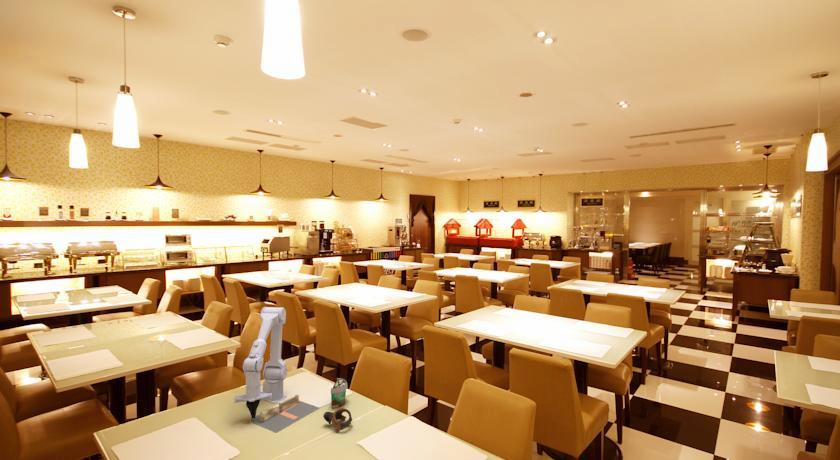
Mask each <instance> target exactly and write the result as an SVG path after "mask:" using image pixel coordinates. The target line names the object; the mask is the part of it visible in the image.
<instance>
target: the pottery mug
mask: <svg viewBox="0 0 840 460" xmlns="http://www.w3.org/2000/svg"><path fill="white" fill-rule="evenodd" d="M343 413H347V414H348V419H347V420H346V418H347V416H345V415H343ZM323 419H324V421H326V422H327V423H328V424H329V425H331V424H333V425H334V426H335V429H334V431H335V432H336V433H340V431H343V430H344V429H347V428H348V427H349V426H350V425H351V424H352V421H353V417H352V413H351V411H350V410H349V409H347V408H343V407H339V408H336V410H335V411H334V412H332V411H325V412H324V413H323ZM338 420H339V421H340V420H341V421H342V422H340V423H338V422H339V421H338ZM343 421H344V422H343Z"/></svg>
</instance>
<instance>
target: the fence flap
mask: <svg viewBox="0 0 840 460" xmlns="http://www.w3.org/2000/svg"><path fill="white" fill-rule="evenodd" d="M277 414H279V404H276V405H274V406H272V407H270V408H269V409H266V410H264V411H261V412H260V413H259V415H260V422H264V421H265V420H267V419H269V418H271V417H273V416H275V415H277Z"/></svg>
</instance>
